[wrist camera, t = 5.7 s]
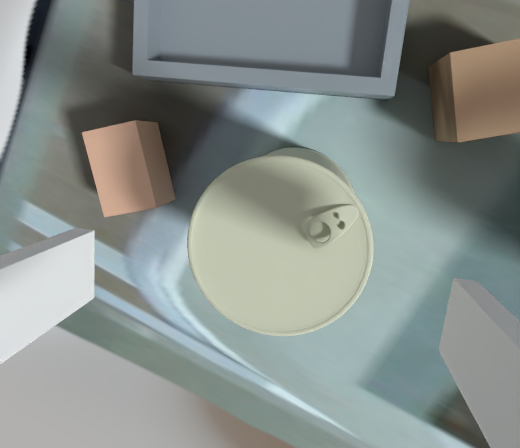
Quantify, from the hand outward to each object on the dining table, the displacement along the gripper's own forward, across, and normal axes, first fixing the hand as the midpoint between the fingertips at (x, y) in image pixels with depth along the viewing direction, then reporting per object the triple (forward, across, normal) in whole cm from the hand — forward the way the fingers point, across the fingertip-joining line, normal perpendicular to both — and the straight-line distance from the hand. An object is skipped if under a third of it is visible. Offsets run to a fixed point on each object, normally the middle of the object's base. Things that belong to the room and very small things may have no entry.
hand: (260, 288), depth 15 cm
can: (+17, 0, 0) cm, 17 cm away
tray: (+17, -3, +15) cm, 23 cm away
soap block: (+17, -12, +2) cm, 21 cm away
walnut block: (+17, +11, +9) cm, 22 cm away
